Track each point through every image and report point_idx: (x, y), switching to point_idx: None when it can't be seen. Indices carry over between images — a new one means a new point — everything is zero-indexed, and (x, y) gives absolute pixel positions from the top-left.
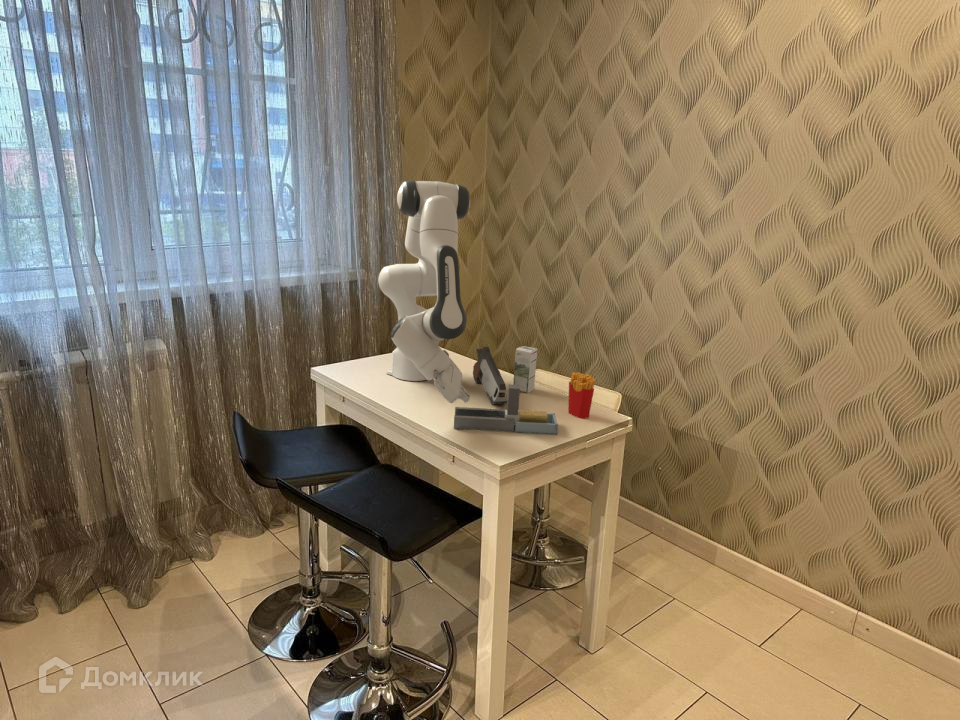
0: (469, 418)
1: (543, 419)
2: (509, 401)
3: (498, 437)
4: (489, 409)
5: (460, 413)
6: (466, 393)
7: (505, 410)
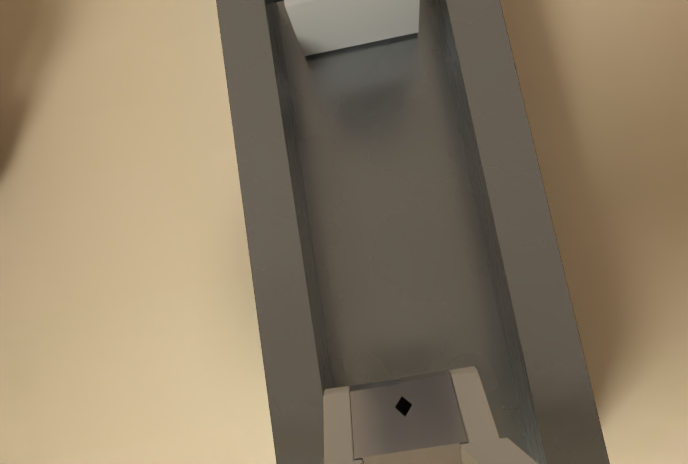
0: (573, 323)
1: None
2: None
3: (618, 61)
4: (260, 170)
5: None
6: (389, 447)
7: (297, 2)
